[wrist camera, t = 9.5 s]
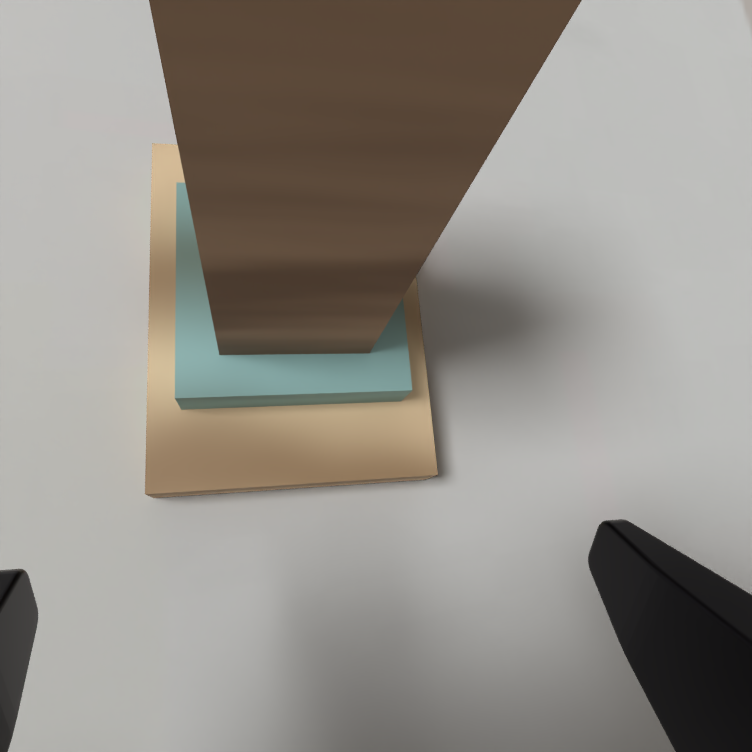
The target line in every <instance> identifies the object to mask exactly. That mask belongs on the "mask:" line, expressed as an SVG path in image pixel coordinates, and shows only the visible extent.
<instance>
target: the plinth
mask: <svg viewBox="0 0 752 752" xmlns="http://www.w3.org/2000/svg"><path fill="white" fill-rule="evenodd" d="M436 475H438V472H437V462H436V453H435V444H434V435H433V426H432V417H431V408H430V398H429V389H428V380H427V371H426V362H425V353H424V344H423V334H422V325H421V316H420V307H419V298H418V289H417V280H416V277H415V278H414V280H413V282H412V283H411V285H410V287H409V288H408V290H407V292H406V293H405V295H404V297H403V298H402V300H401V302H400V303H399V305H398V307H397V308H396V310H395V312H394V313H393V315H392V317H391V318H390V320H389V322H388V323H387V325H386V327H385V328H384V330H383V332H382V333H381V335H380V337H379V338H378V340H377V342H376V343H375V345H374V347H373V348H372V350H371V352H370V353H364V354H275V355H219V351H218V346H217V341H216V336H215V331H214V326H213V321H212V316H211V310H210V305H209V300H208V295H207V290H206V285H205V280H204V275H203V270H202V265H201V260H200V255H199V250H198V245H197V240H196V235H195V230H194V225H193V220H192V215H191V209H190V204H189V199H188V194H187V189H186V184H185V179H184V174H183V169H182V164H181V159H180V154H179V149H178V145H173V144H155V143H152V184H151V232H150V281H149V329H148V378H147V426H146V475H145V494H146V495H148V496H150V497H153V498H160V497H175V496H190V495H204V494H219V493H234V492H249V491H263V490H278V489H293V488H308V487H323V486H337V485H352V484H367V483H382V482H397V481H411V480H425V479H428V478H431V477H434V476H436Z"/></svg>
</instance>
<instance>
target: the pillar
mask: <svg viewBox="0 0 752 752" xmlns="http://www.w3.org/2000/svg"><path fill="white" fill-rule="evenodd" d="M149 2H150V7H151V13H152V18H153V23H154V28H155V33H156V38H157V43H158V48H159V53H160V58H161V63H162V68H163V73H164V78H165V83H166V88H167V93H168V98H169V103H170V108H171V114H172V119H173V124H174V129H175V134H176V139H177V144H178V149H179V154H180V159H181V164H182V169H183V174H184V179H185V184H186V189H187V194H188V199H189V204H190V209H191V215H192V220H193V225H194V230H195V235H196V240H197V245H198V250H199V255H200V260H201V265H202V270H203V275H204V280H205V285H206V290H207V295H208V300H209V305H210V310H211V316H212V321H213V326H214V331H215V336H216V341H217V346H218V351H219V355H275V354H364V353H370V352H371V350H372V348H373V347H374V345H375V343H376V342H377V340H378V338H379V337H380V335H381V333H382V332H383V330H384V328H385V327H386V325H387V323H388V322H389V320H390V318H391V317H392V315H393V313H394V312H395V310H396V308H397V307H398V305H399V303H400V302H401V300H402V298H403V297H404V295H405V293H406V292H407V290H408V288H409V287H410V285H411V283H412V282H413V280H414V278H415V277H416V275H417V273H418V272H419V270H420V268H421V267H422V265H423V263H424V262H425V260H426V258H427V257H428V255H429V253H430V252H431V250H432V248H433V247H434V245H435V243H436V242H437V240H438V238H439V237H440V235H441V233H442V232H443V230H444V228H445V227H446V225H447V223H448V222H449V220H450V218H451V217H452V215H453V213H454V212H455V210H456V208H457V207H458V205H459V203H460V202H461V200H462V198H463V197H464V195H465V193H466V192H467V190H468V189H469V187H470V185H471V184H472V182H473V180H474V179H475V177H476V175H477V174H478V172H479V170H480V169H481V167H482V165H483V164H484V162H485V160H486V159H487V157H488V155H489V154H490V152H491V150H492V149H493V147H494V145H495V144H496V142H497V140H498V139H499V137H500V135H501V134H502V132H503V130H504V129H505V127H506V125H507V124H508V122H509V120H510V119H511V117H512V115H513V114H514V112H515V110H516V109H517V107H518V105H519V104H520V102H521V100H522V99H523V97H524V95H525V94H526V92H527V90H528V89H529V87H530V85H531V84H532V82H533V80H534V79H535V77H536V75H537V74H538V72H539V70H540V69H541V67H542V65H543V64H544V62H545V60H546V59H547V57H548V55H549V54H550V52H551V50H552V49H553V47H554V45H555V44H556V42H557V40H558V39H559V37H560V35H561V34H562V32H563V30H564V29H565V27H566V25H567V24H568V22H569V20H570V19H571V17H572V15H573V14H574V12H575V10H576V9H577V7H578V5H579V4H580V2H581V0H149Z"/></svg>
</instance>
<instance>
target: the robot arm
mask: <svg viewBox="0 0 752 752" xmlns="http://www.w3.org/2000/svg"><path fill="white" fill-rule="evenodd" d="M588 563H589V568H590V571H591V574H592V576H593V578H594V581H595V583H596V586H597V588H598V591H599V593H600V596H601V598H602V601H603V603H604V605H605V608H606V610H607V613H608V615H609V618H610V620H611V623H612V625H613V628H614V630H615V632H616V635H617V637H618V640H619V642H620V644H621V646H622V649H623V651H624V653H625V655H626V657H627V659H628V661H629V663H630V665H631V667H632V669H633V671H634V673H635V675H636V677H637V679H638V681H639V683H640V685H641V686H642V688H643V690H644V692H645V694H646V696H647V698H648V700H649V702H650V704H651V706H652V708H653V709H654V711H655V713H656V715H657V717H658V719H659V721H660V723H661V725H662V727H663V729H664V730H665V732H666V734H667V736H668V738H669V740H670V742H671V744H672V746H673V748H674V750H675V751H676V752H752V595H751V594H749V593H748V592H746V591H744V590H743V589H741V588H739V587H738V586H736V585H734V584H733V583H731V582H729V581H728V580H726V579H724V578H723V577H721V576H719V575H718V574H716V573H714V572H713V571H711V570H709V569H707V568H706V567H704V566H702V565H701V564H699V563H697V562H696V561H694V560H692V559H691V558H689V557H687V556H686V555H684V554H682V553H681V552H679V551H677V550H676V549H674V548H672V547H671V546H669V545H667V544H666V543H664V542H662V541H661V540H659V539H657V538H656V537H654V536H652V535H651V534H649V533H647V532H646V531H644V530H642V529H641V528H639V527H637V526H636V525H634V524H632V523H631V522H629V521H627V520H622V519H620V520H607V521H603V522H602V523H601V524H600V525H599V527H598V529H597V532H596V535H595V538H594V541H593V544H592V546H591V549H590V552H589V557H588ZM37 623H38V608H37V604H36V601H35V597H34V594H33V590H32V587H31V583H30V579H29V576H28V574H27V572H26V571H25V570H23V569H12V570H0V752H8V749H9V746H10V743H11V739H12V736H13V732H14V728H15V724H16V719H17V715H18V711H19V706H20V701H21V697H22V692H23V688H24V683H25V679H26V674H27V670H28V665H29V660H30V656H31V651H32V647H33V642H34V638H35V633H36V629H37Z"/></svg>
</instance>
